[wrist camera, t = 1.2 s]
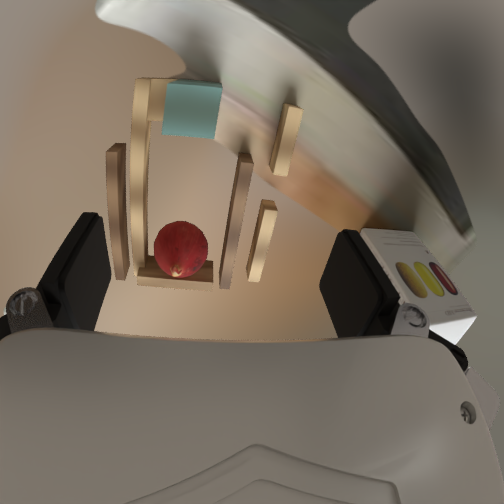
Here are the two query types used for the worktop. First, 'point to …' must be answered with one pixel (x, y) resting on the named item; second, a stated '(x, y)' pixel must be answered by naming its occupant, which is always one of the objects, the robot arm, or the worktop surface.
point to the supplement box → (421, 280)
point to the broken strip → (268, 208)
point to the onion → (180, 249)
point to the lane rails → (119, 218)
